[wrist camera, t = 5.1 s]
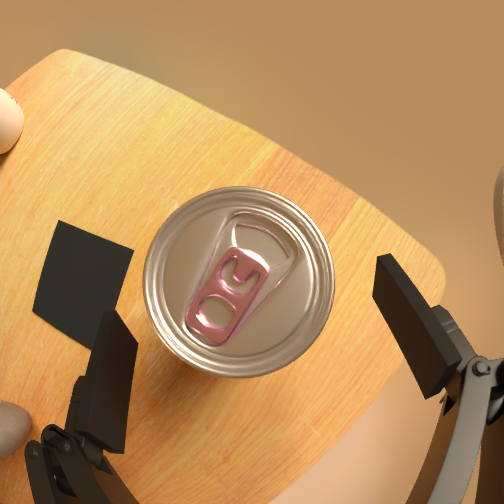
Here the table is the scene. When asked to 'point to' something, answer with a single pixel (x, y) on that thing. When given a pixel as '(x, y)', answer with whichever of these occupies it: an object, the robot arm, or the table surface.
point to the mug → (9, 121)
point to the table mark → (80, 281)
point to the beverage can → (238, 282)
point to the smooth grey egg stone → (12, 428)
